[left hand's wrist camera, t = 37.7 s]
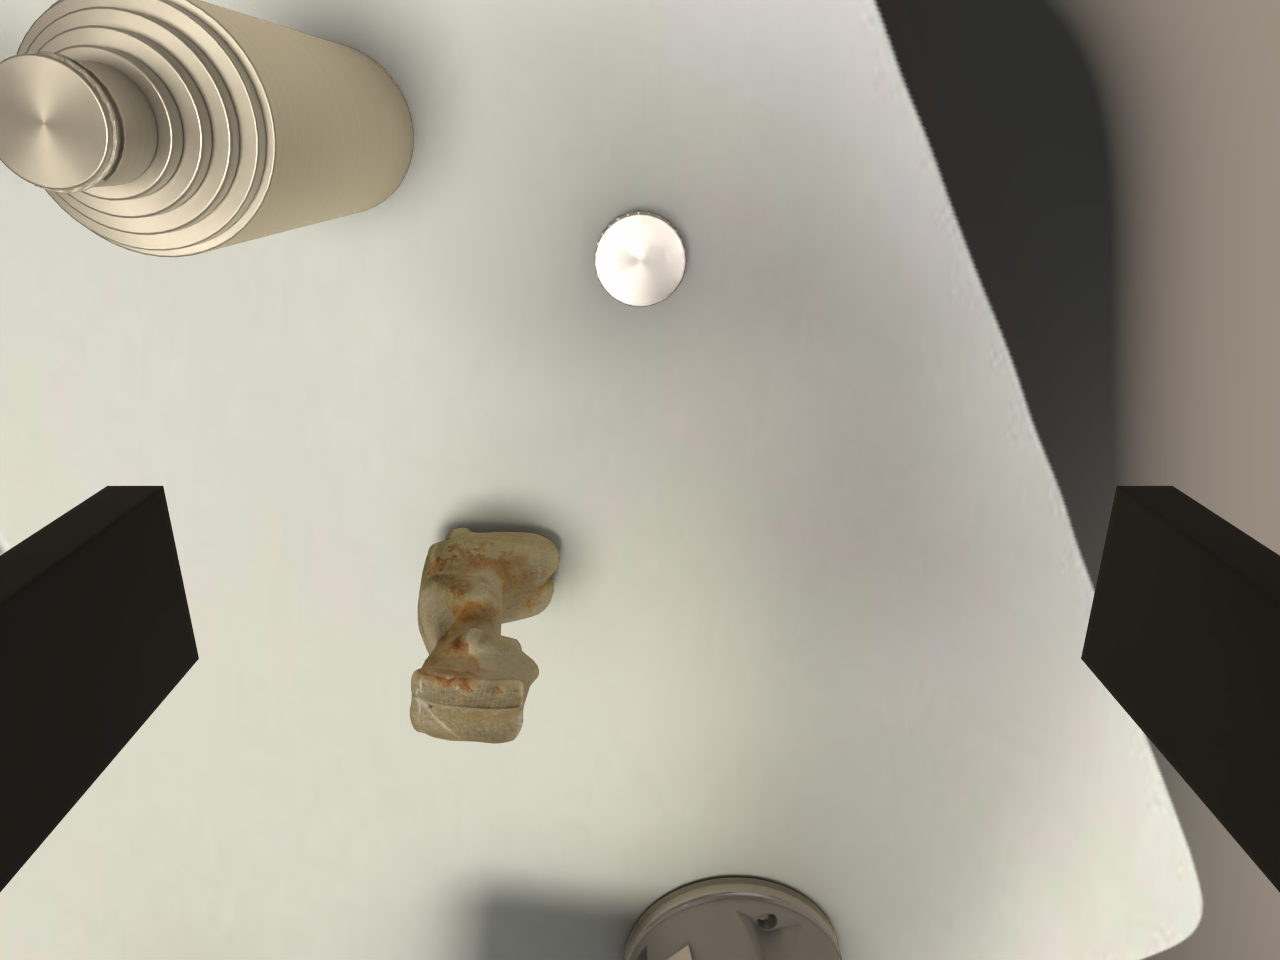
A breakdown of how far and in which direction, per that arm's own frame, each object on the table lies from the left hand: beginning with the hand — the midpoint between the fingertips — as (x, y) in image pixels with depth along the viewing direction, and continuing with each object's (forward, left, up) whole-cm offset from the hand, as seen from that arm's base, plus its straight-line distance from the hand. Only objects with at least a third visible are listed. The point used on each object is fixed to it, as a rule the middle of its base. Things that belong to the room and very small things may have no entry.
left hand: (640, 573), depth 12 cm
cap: (0, 0, -34) cm, 34 cm away
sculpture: (-11, +15, -36) cm, 41 cm away
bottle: (+12, +10, -36) cm, 39 cm away
